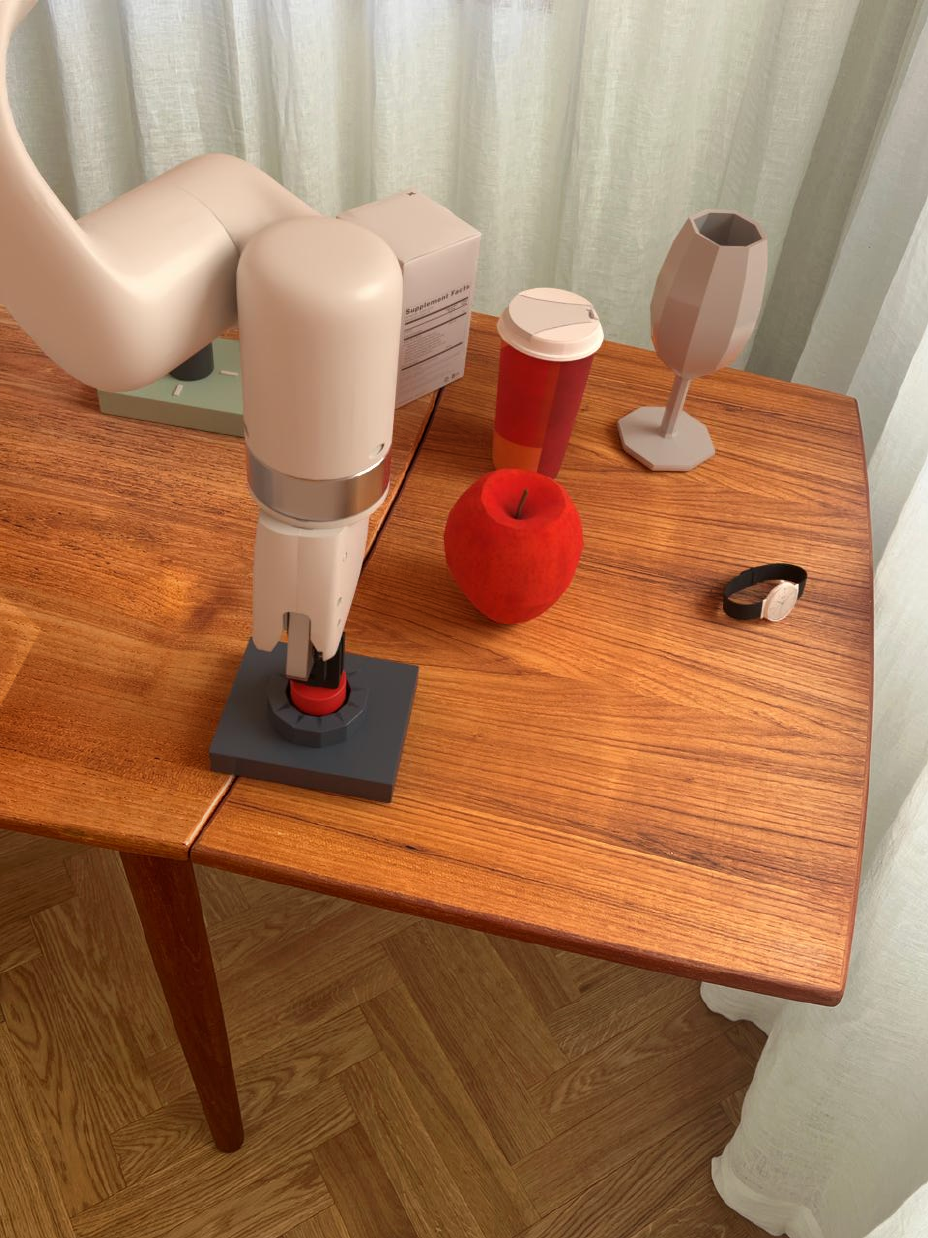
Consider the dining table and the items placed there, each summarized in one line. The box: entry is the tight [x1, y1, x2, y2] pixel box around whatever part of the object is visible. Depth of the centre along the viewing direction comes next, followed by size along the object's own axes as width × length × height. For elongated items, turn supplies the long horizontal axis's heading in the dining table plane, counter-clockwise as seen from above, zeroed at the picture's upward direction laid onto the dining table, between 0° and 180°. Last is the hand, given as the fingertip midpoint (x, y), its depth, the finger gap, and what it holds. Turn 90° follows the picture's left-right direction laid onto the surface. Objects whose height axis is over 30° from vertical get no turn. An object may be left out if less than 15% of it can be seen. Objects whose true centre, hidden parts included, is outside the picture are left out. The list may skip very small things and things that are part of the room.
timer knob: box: [169, 342, 214, 381], centre depth 94 cm, size 4×4×5 cm
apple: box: [442, 468, 585, 625], centre depth 80 cm, size 10×10×12 cm
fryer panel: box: [96, 336, 245, 439], centre depth 97 cm, size 13×10×3 cm
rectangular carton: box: [335, 187, 483, 411], centre depth 98 cm, size 9×9×15 cm
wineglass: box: [615, 208, 769, 472], centre depth 92 cm, size 9×9×21 cm
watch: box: [722, 562, 809, 622], centre depth 86 cm, size 8×5×4 cm, turn 122°
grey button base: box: [208, 635, 420, 804], centre depth 74 cm, size 12×10×4 cm
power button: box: [290, 669, 346, 716], centre depth 72 cm, size 4×4×2 cm
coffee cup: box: [492, 287, 605, 480], centre depth 91 cm, size 8×8×15 cm
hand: (316, 675), depth 72 cm, fingers closed
